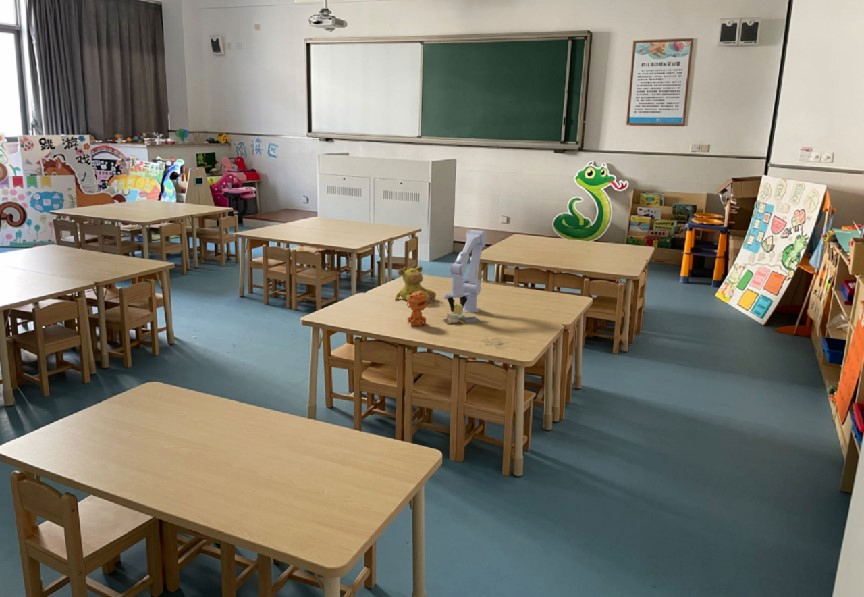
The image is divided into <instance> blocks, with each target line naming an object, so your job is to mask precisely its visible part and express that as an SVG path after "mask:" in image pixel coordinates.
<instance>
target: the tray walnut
mask: <svg viewBox="0 0 864 597" xmlns="http://www.w3.org/2000/svg"><path fill="white" fill-rule="evenodd" d="M442 321H443V322H444V323H445V324H447V325H448V326H450V325H461V324H463V321H461V319H458V322H455V323H448V322H447V318H443V319H442Z"/></svg>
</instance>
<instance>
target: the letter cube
mask: <svg viewBox="0 0 864 597" xmlns="http://www.w3.org/2000/svg"><path fill="white" fill-rule="evenodd" d="M462 308H463V306H462V305H461V304H460V302H459V303H454V312H456V313H457V314H462V315H463V311H462ZM450 312H452V311H451V310H450Z"/></svg>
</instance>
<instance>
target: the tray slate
mask: <svg viewBox="0 0 864 597" xmlns="http://www.w3.org/2000/svg"><path fill="white" fill-rule="evenodd" d="M461 320H463V322H465V323H466V324H472V323H481V321H482V320H481V319H479V318H478V317H476V316H467V317H466V316H465V317H463V318H462V319H461Z"/></svg>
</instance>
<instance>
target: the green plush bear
mask: <svg viewBox="0 0 864 597" xmlns="http://www.w3.org/2000/svg"><path fill="white" fill-rule="evenodd" d="M423 269H424V268H423V266H421V265H420V266H416V267H415V266H414V265H411V266H410V267H409V266H408V267H406V266H404V267H403V268H400V269H398V271H397V275H398V276H402V280H403V282H404V285H403V287H402V288H401V289H400V290H399V292H398V293H397V294H396V295H395V298H394V299H395V301H396V302H397V300H399V299H400V298H401V297H402V300H406V301H407V299H408V297H409V296H410V295H412V293H414V292H418V291H421V290H422V291H421V292H423V293H424V294H426V296H427V299H426V300H425V301H429V302H428V303H430V301H431V302H433V301H434V300H435V299H436V296H437V295H436V292H435V291H433V290H431V289H429V288H426V287H424V286H422V285H421V283H422V282H423V280H424V277H423V274H422V273H421V272H422V271H423ZM400 296H401V297H400ZM408 301H409V300H408Z"/></svg>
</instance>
